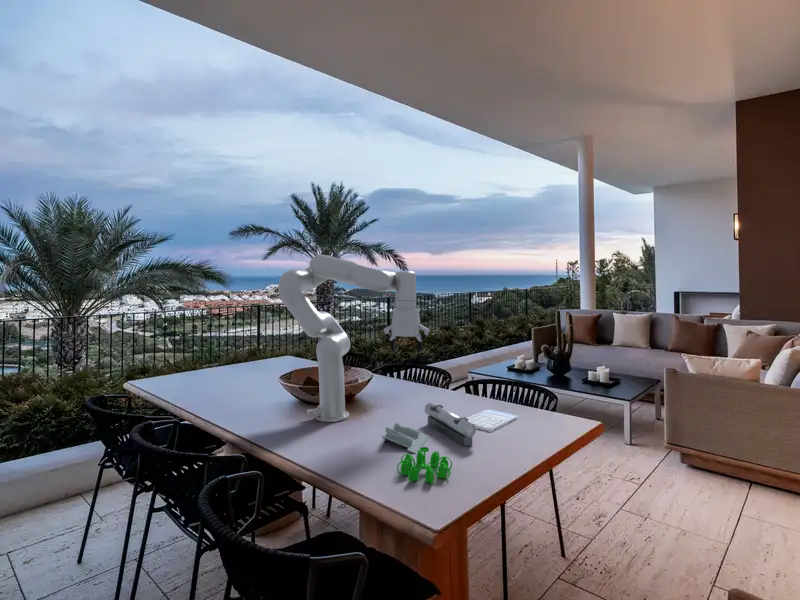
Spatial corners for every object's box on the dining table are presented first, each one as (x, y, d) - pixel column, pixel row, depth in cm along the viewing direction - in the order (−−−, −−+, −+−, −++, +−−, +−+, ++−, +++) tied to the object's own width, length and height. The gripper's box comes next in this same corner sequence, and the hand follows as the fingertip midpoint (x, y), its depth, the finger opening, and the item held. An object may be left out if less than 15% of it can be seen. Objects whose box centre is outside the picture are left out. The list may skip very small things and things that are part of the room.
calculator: (458, 425, 154) (458, 420, 154) (487, 412, 168) (487, 407, 168) (490, 434, 145) (490, 428, 145) (519, 419, 159) (519, 414, 159)
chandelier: (402, 490, 106) (401, 462, 106) (392, 465, 121) (392, 440, 120) (460, 484, 109) (460, 457, 108) (444, 460, 123) (443, 436, 123)
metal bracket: (377, 432, 131) (394, 417, 145) (373, 449, 132) (390, 433, 146) (421, 449, 127) (434, 432, 141) (416, 467, 128) (429, 449, 142)
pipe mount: (464, 448, 131) (463, 424, 131) (424, 423, 155) (424, 403, 155) (476, 445, 133) (475, 422, 133) (435, 421, 157) (435, 401, 156)
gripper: (380, 305, 156) (380, 352, 156) (426, 305, 151) (427, 354, 151) (386, 304, 163) (387, 349, 164) (431, 304, 158) (431, 351, 159)
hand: (406, 351), depth 158 cm, fingers open, 9 cm apart
